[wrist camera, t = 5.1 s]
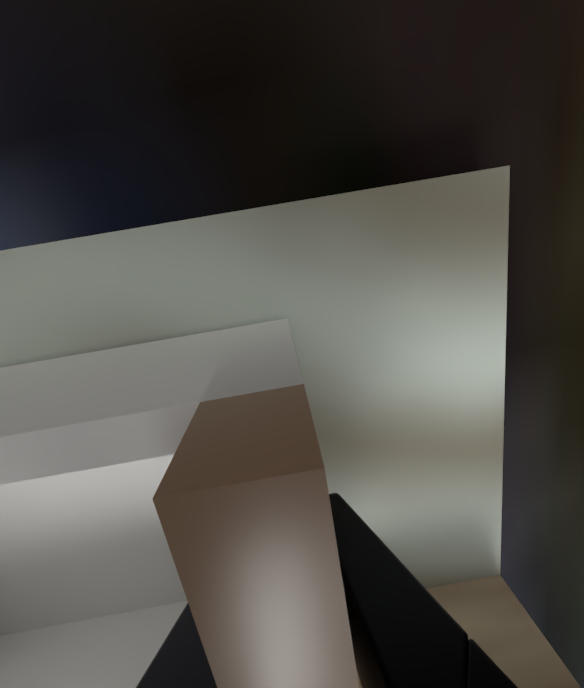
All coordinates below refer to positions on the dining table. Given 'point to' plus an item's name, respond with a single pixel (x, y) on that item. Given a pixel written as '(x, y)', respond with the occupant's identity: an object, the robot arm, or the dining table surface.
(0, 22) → the dining table surface
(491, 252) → the beige shallow tray
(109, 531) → the drawer
